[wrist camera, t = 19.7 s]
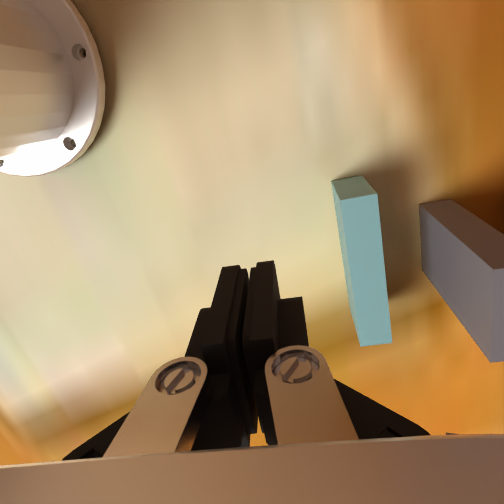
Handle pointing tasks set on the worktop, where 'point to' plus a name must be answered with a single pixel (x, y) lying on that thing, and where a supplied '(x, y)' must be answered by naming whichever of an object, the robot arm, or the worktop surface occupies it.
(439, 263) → the domino
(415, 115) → the worktop surface
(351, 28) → the worktop surface
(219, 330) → the robot arm
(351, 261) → the domino
